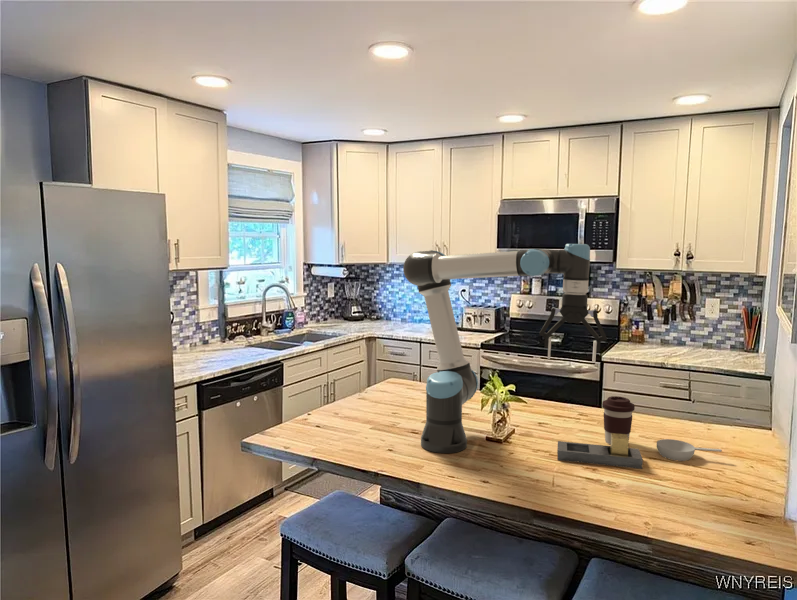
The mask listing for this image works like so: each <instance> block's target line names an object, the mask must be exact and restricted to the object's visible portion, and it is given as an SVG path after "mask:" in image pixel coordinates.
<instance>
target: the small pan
mask: <svg viewBox="0 0 797 600" xmlns="http://www.w3.org/2000/svg"><path fill="white" fill-rule="evenodd" d="M656 450H657V451H658V453H659V455H660V456H661V455H662V456H661V457H662V458H665V457H666V458H665V459H667V458H668V459H667V460H671V459H672V460H671V461H676V460H678V461H679V462H685V461H686V460H687V461H690V460H691V459H692V457H693V456H694V455H695V451H706V452H707V451H708V452H719V453H721V452H722V449H720V448H709V447H708V448H707V447H695V446H694V444H691V443H689V442H686V441H683V440H678V439H671V438H670V439H669V438H663V439H659V440H657V441H656ZM678 461H677V462H678Z"/></svg>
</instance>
